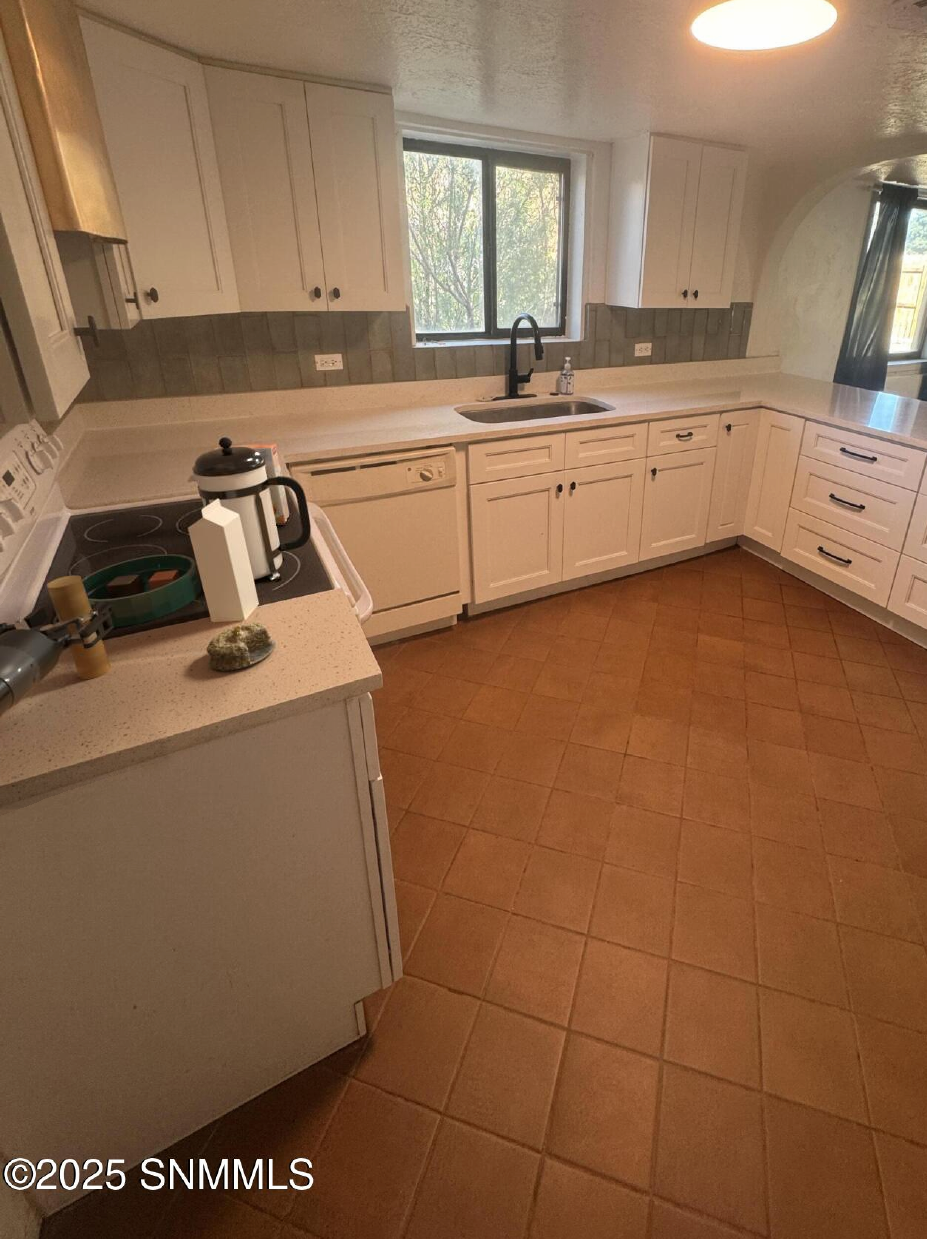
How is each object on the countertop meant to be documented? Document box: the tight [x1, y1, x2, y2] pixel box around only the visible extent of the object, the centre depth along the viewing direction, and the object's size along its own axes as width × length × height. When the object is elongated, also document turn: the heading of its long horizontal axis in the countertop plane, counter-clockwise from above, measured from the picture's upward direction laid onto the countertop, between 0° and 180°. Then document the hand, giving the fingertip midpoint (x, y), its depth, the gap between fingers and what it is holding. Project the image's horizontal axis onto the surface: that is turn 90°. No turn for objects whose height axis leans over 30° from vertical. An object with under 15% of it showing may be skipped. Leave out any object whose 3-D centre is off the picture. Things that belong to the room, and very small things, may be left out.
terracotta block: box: [148, 570, 180, 590], centre depth 114 cm, size 4×4×4 cm
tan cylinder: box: [46, 574, 111, 680], centre depth 89 cm, size 4×4×16 cm
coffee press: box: [187, 436, 312, 584], centre depth 118 cm, size 17×16×30 cm
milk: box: [187, 499, 260, 623], centre depth 103 cm, size 6×6×22 cm
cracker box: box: [213, 442, 290, 523], centre depth 146 cm, size 14×6×21 cm, turn 102°
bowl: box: [81, 553, 202, 628], centre depth 111 cm, size 19×19×6 cm
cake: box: [206, 622, 276, 672], centre depth 94 cm, size 10×10×5 cm
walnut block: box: [106, 575, 144, 599], centre depth 112 cm, size 4×4×4 cm
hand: (75, 609), depth 88 cm, fingers open, 8 cm apart
